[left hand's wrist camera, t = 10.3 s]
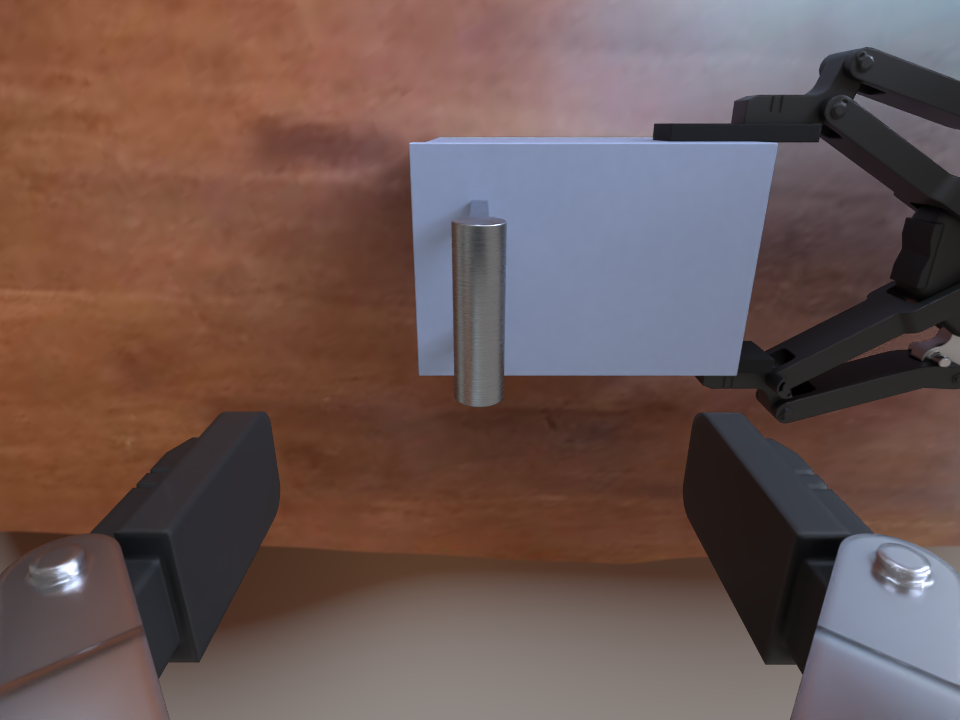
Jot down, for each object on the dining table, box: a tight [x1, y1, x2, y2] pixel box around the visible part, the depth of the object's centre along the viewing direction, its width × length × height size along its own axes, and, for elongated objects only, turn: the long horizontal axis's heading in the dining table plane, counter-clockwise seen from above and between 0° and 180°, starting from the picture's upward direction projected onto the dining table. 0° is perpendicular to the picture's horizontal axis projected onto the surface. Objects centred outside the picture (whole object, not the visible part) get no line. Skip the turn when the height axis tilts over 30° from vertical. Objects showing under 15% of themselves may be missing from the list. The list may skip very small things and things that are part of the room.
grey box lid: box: [409, 142, 778, 407], centre depth 23 cm, size 15×10×8 cm
